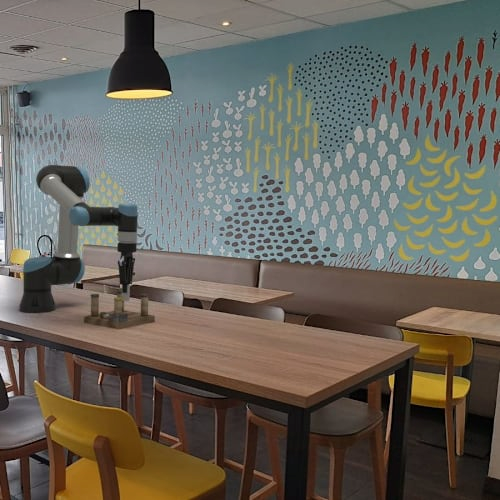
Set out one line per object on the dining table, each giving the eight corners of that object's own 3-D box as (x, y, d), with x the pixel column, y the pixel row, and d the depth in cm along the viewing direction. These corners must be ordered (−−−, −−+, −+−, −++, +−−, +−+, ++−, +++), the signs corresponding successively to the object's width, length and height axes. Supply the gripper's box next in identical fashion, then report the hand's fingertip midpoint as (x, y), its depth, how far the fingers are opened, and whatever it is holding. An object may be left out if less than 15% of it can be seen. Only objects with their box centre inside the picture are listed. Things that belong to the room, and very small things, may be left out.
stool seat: (83, 322, 234) (84, 294, 233) (120, 315, 250) (121, 289, 249) (118, 329, 223) (118, 300, 222) (154, 321, 239) (155, 294, 238)
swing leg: (98, 317, 231) (98, 295, 230) (104, 315, 233) (104, 294, 233) (117, 321, 224) (117, 298, 223) (123, 320, 226) (124, 297, 226)
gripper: (124, 240, 238) (122, 297, 240) (111, 242, 225) (110, 302, 227) (141, 241, 237) (140, 298, 239) (130, 243, 224) (128, 304, 226)
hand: (125, 300), depth 233 cm, fingers closed
